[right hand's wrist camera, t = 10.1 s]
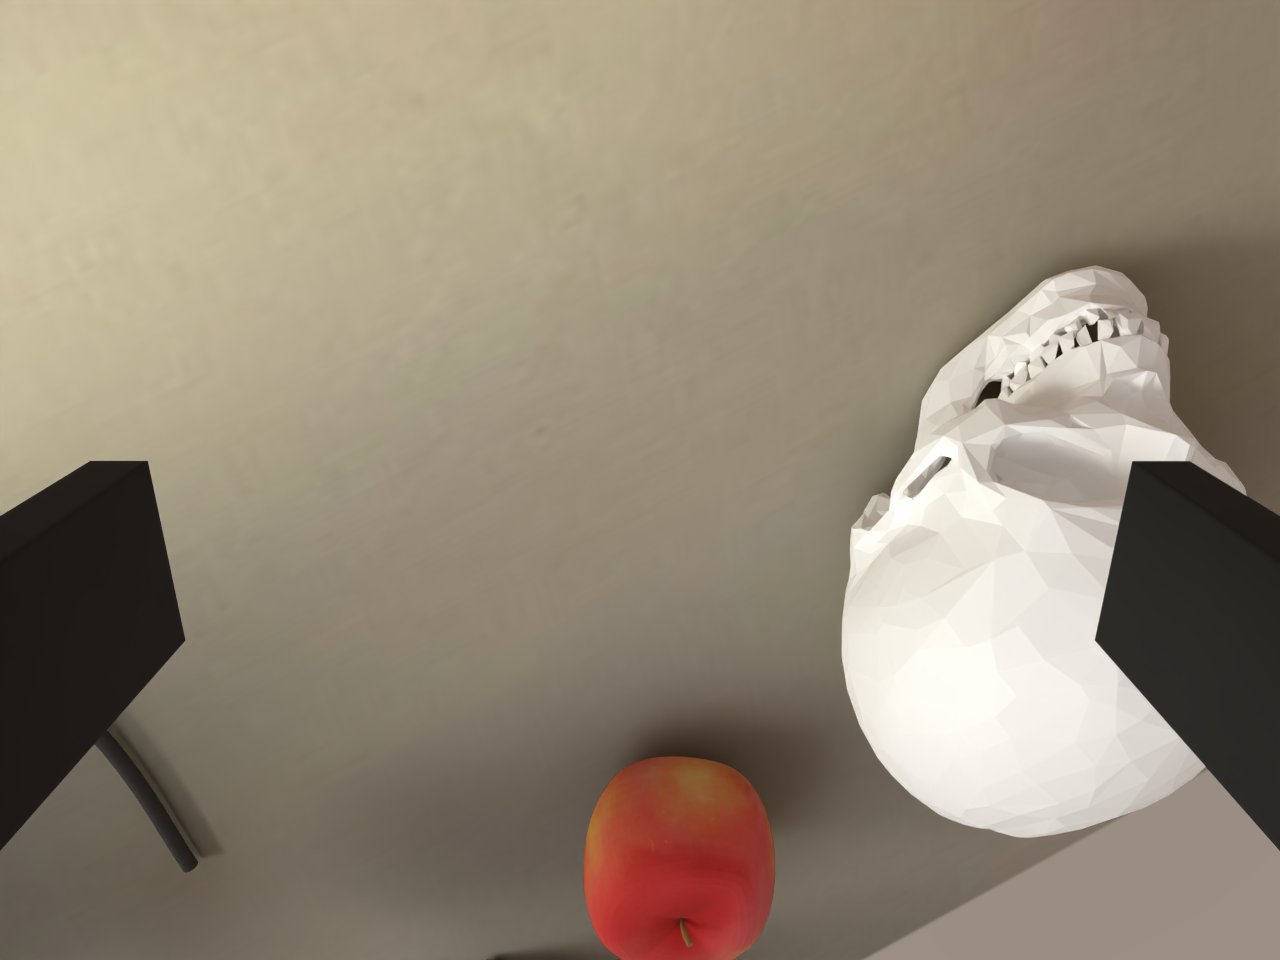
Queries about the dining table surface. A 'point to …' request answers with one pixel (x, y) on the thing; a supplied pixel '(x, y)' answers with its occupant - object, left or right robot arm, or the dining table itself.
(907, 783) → the skull
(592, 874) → the apple
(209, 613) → the dining table surface
